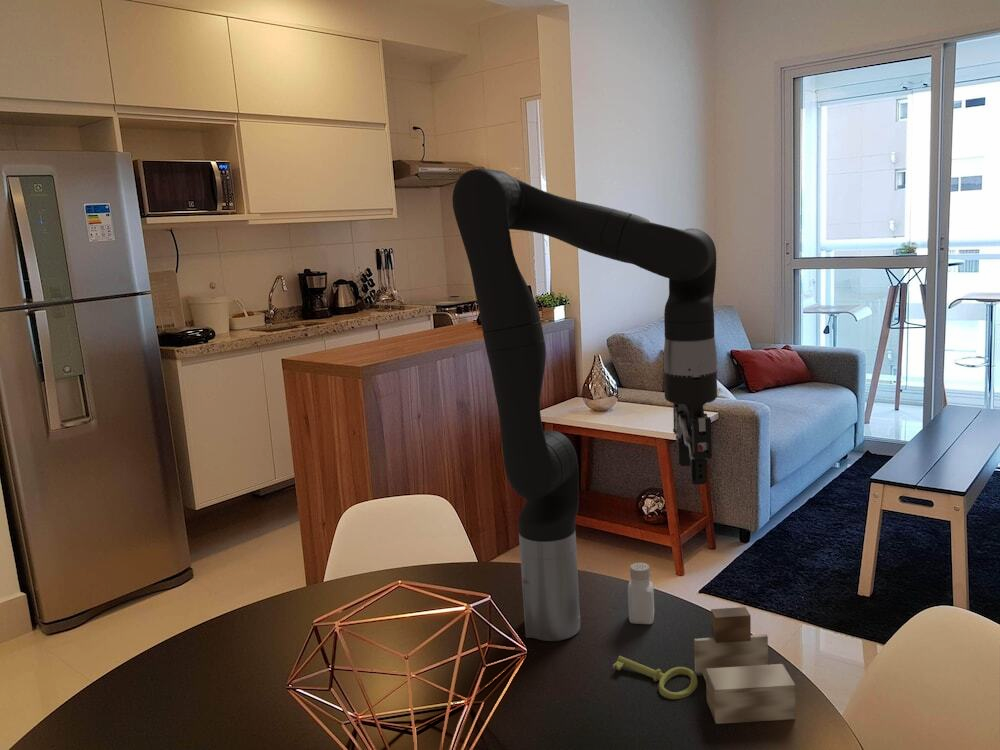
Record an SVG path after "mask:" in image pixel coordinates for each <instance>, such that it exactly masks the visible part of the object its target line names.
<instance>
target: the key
mask: <svg viewBox="0 0 1000 750" xmlns="http://www.w3.org/2000/svg"><path fill="white" fill-rule="evenodd" d="M623 667H625V668H626V669H627V668H628V669H630V670H632V671H635V672H637V673H639V674H642V675H644V676H647V677H649V678H651V679H653V682H658V681H659V682H658V686H657V687H658V692H659V694H660V695H661V696H662V697H664V698H666V699H669V700H680V699H683V698H686V697H688V696H690V695H692V693H693V692H695V690H696V689H697V687H698V684H699V683H698V682H699V681H698V678H697V677H698V676H697V673H696V672H695V671H693V670H692V669H690V668H688V667H685V666H676V667H672V668H670V669H668V670H667V671H665V673H664V672H662V670H661V669H660V668H657V669H653V668H651V667H648V666H646V665H644V664H641V663H638V662H637V661H635V660H631V659H629V658H627V657H624V656H622V655H618V657H617V659H616V662H615V663H613V664H612V668H613V669H615V668H616V670H618V671H621V669H622V668H623ZM679 675H684V676H687V677H689V678H690V683H689V686H688V687H687V688H685V689H683V690H680V691H677V692H675V691H670V690H668V689H666V687H665V685H666V684H667V682H669V681H670V680H671V678H673V677H675V676H679Z"/></svg>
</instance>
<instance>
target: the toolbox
mask: <svg viewBox="0 0 1000 750" xmlns="http://www.w3.org/2000/svg"><path fill="white" fill-rule="evenodd" d="M705 685H706V687H705V689H706V690H705V691H706V693H705V694H706V703H707V705H708V708H709V710H710V713H711V715H712V717H713V720H714V722H715V724H716V725H717V724H718V725H719V724H736V723H737V724H738V723H751V722H752V723H753V722H767V721H785V720H795V719H796V683H795V682H794V680H793V678H792V677H791V676H790V673H789V672H788V671H787V669H786V667H785V665H784V664H783V663H775V664H774V663H772V664H768V665H755V666H739V667H722V668H706V681H705Z"/></svg>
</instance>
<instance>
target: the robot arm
mask: <svg viewBox="0 0 1000 750" xmlns="http://www.w3.org/2000/svg"><path fill="white" fill-rule="evenodd" d="M455 182H456V183H455V185H454V188H453V190H452V191H453V192H452V198H451V199H452V209H453V213H454V217H455V220H456V224H457V227H458V230H459V234H460V236H461V240H462V243H463V246H464V250H465V253H466V256H467V259H468V263H469V268H470V271H471V277H472V283H473V287H474V294H475V298H476V302H477V307H478V312H479V313H478V314H479V318H480V326H481V331H482V336H483V340H484V347H485V351H486V356H487V359H488V363H489V368H490V373H491V378H492V383H493V389H494V394H495V400H496V405H497V411H498V419H499V426H500V436H501V446H502V459H503V466H504V470H505V475H506V478H507V480H508V483H509V484H510V486H511V487H512V489H513V491H515V492H516V494H517V495H519V496H520V497H521V498H523V499H525V500H526V501H525V503H524V506H523V507H522V509H521V511H520V512H519V514H518V517H517V527H518V540H519V542H518V543H519V552H520V553H519V556H520V569H521V570H520V571H521V587H522V589H521V590H522V602H523V614H524V615H523V617H524V632H525V634H524V635H525V638H527V639H532V638H533V639H536V640H539V641H542V642H543V641H545V642H559V641H563V640H567V639H570V638H572V637H574V636H575V635H577V634H578V633H579V632H580V629H581V612H580V595H579V594H580V591H579V589H580V588H579V574H578V555H577V553H578V551H577V536H576V535H577V533H576V519H577V515H578V513H579V507H580V505H579V504H580V487H579V486H580V483H579V482H580V475H579V473H580V472H579V469H580V468H579V461H578V460H579V459H578V455H577V451H576V448H575V447H574V445H573V443H572V441H571V440H570V439H569V438H568V437H567V436H566V435H565V434H563V433H562V432H559V431H556V430H552V429H551V430H548V429H547V430H544V426H543V422H542V414H541V394H542V389H543V387H542V386H543V382H544V376H545V370H546V369H545V368H546V357H547V349H546V341H545V336H544V331H543V325H542V320H541V316H540V312H539V308H538V305H537V303H536V301H535V298H534V296H533V294H532V292H531V290H530V288H529V286H528V284H527V282H526V280H525V279H524V276H523V275H522V273H521V270H520V269H519V266H518V264H517V262H516V261H517V260H516V258H515V253H514V249H513V244H512V239H511V233H510V232H511V231H510V230H515V231H524V232H532V233H536V234H540V235H545V236H547V237H551V238H554V239H557V240H558V241H561V242H563V243H566V244H567V245H570V246H572V247H574V248H577V249H580V250H582V251H585V252H587V253H589V254H594V255H596V256H599V257H603V258H607V259H610V260H614V261H618V262H621V263H626V264H631V265H635V266H636V267H638V268H641V269H643V270H645V271H648V272H650V273H652V274H655V275H658V276H661V277H664V278H667V279H668V298H667V299H666V300H667V301H666V303H665V306H664V312H663V313H664V314H663V315H664V316H663V317H664V319H663V321H664V323H663V324H664V344H663V345H664V347H663V382H664V383H663V384H664V385H663V387H664V399H665V400H666V401H668V403H671V404H673V405H672V407H673V413H672V414H673V428H672V432H673V433H674V435H675V439H676V442H677V456H678V457H677V459H678V460H677V463H678V464H679V465H680V466H681V467H686V466H687V467H689V466H690V482H691V483H692V485H698V486H699V485H705V484H707V482H708V460H710V459H712V458H713V457H712V456H713V452H712V451H713V450H712V449H713V448H712V447H713V445H712V419H711V417H710V416H708V414H707V413H705V409H704V406H705V405H706V404H708V403H709V404H710V403H712V402H714V401H715V400H716V399H717V398H718V372H717V371H718V369H717V368H718V367H717V366H718V364H717V362H718V361H717V358H718V357H717V356H718V355H717V347H716V342H715V313H714V312H715V311H714V295H715V288H716V287H715V285H716V277H717V276H716V275H717V250H716V245H715V242H714V241H713V239H712V237H711V236H710V235H709V234H708V233H706V232H705V231H704V230H701V229H699V228H686V229H680V228H676V227H671V226H668V225H662V224H658V223H656V222H655V223H654V222H651V221H650V220H649V219H648V218H646V217H644V216H641V215H637V214H635V213H634V214H633V213H630V212H626V211H623V210H619V209H615V208H613V207H612V208H611V207H607V206H603V205H599V204H594V203H590V202H584V201H580V200H576V199H575V200H574V199H570V198H566V197H564V196H559V195H557V194H556V195H555V194H554V193H551V192H547V191H544V190H542V189H539V188H537V187H535V186H532V185H530V184H529V183H527V182H525V181H522V180H520V179H518V178H516V177H514V176H512V175H510V174H509V173H507V172H505V171H502V170H498V169H497V170H496V169H487V168H474V169H470V170H467V171H466V172H464V173H462V175H460V176H459V178H458V179H457V181H455ZM699 445H700V446H701V447H702V450H701V449H700V450H698V447H699Z"/></svg>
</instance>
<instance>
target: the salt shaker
mask: <svg viewBox="0 0 1000 750" xmlns="http://www.w3.org/2000/svg"><path fill="white" fill-rule="evenodd" d="M629 572H630V581H629V582H628V586H627V603H628V605H627V608H628V620H629V622H630V623H631V624H635V625H637V624H638V625H639V624H640V625H652V624H653V623H654V618H655V595H654V594H655V593H654V591H655V589H654V582H652V581H651V580H650V578H651V567H650V564H647V563H644V562H634V563H631V565H630V566H629Z"/></svg>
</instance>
